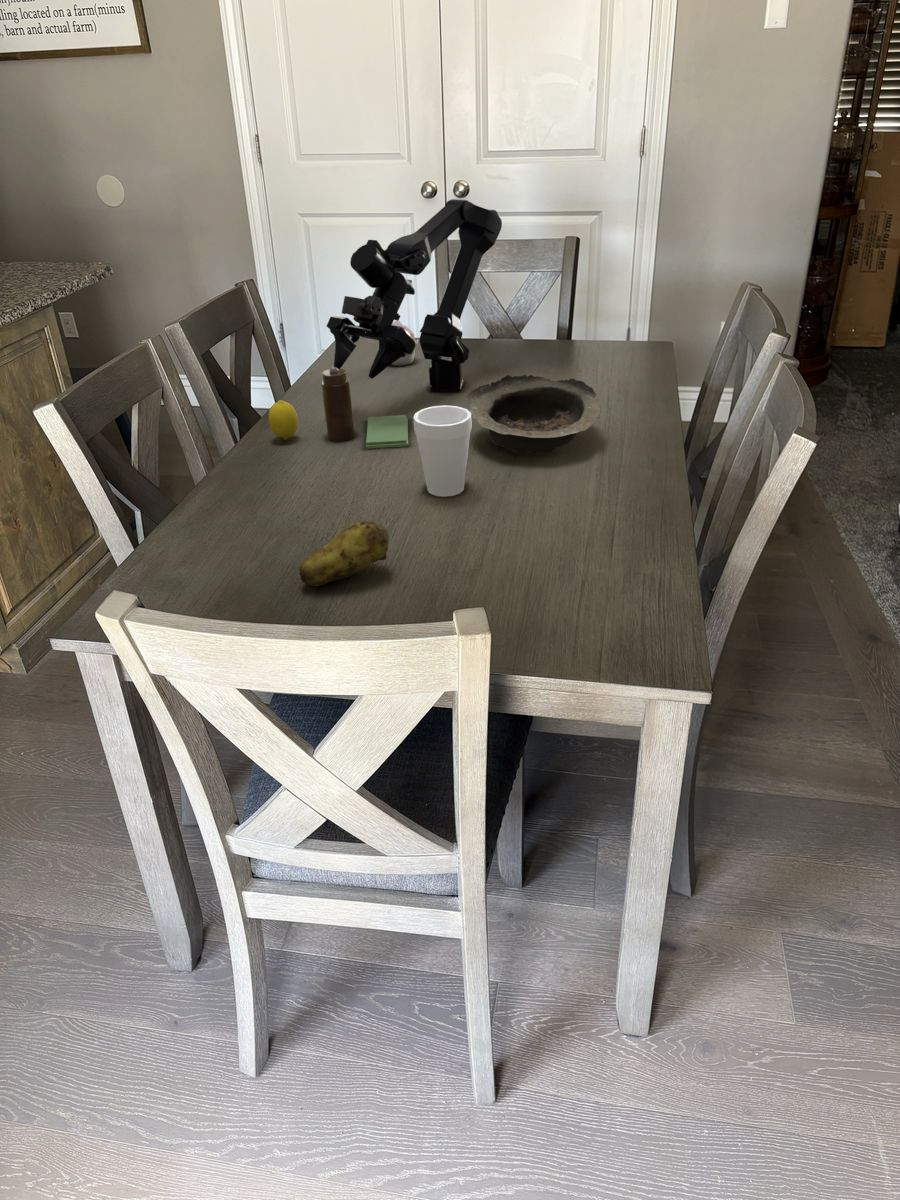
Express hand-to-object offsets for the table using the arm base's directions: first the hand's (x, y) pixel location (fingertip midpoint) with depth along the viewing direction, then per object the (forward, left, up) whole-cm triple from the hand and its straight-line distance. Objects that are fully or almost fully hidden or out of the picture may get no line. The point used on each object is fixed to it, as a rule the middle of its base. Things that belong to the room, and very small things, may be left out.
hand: (352, 373), depth 167 cm
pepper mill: (+2, +4, -11) cm, 12 cm away
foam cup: (-22, +27, -11) cm, 36 cm away
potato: (-12, +57, -11) cm, 59 cm away
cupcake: (-1, -43, -11) cm, 45 cm away
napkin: (-7, +3, -11) cm, 13 cm away
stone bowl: (-36, +5, -11) cm, 38 cm away
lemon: (+13, +6, -11) cm, 18 cm away
